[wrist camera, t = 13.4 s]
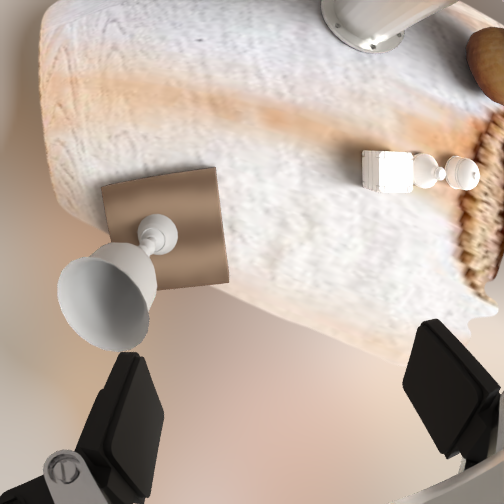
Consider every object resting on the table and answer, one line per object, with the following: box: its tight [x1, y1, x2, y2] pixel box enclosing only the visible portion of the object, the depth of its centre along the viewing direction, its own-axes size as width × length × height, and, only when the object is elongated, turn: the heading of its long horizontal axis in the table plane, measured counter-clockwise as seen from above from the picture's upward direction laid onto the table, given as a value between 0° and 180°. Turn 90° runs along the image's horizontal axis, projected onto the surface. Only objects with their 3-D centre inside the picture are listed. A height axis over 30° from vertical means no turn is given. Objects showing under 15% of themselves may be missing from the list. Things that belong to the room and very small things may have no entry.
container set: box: [362, 150, 480, 193], centre depth 35 cm, size 20×5×6 cm, turn 94°
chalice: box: [58, 214, 178, 352], centre depth 27 cm, size 7×7×18 cm
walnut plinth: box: [101, 167, 229, 290], centre depth 37 cm, size 14×14×3 cm
